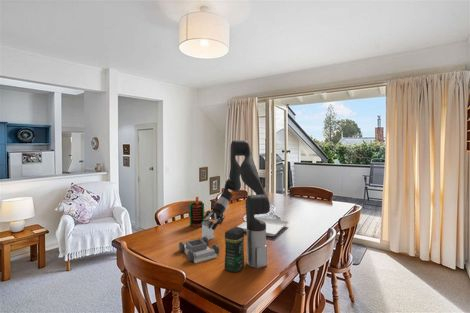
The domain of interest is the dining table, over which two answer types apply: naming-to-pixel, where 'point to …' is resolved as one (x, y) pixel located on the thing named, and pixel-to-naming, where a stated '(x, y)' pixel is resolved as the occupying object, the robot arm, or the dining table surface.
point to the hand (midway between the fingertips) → (207, 227)
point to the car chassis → (199, 250)
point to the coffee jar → (234, 249)
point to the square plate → (268, 225)
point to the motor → (196, 213)
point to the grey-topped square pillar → (207, 229)
